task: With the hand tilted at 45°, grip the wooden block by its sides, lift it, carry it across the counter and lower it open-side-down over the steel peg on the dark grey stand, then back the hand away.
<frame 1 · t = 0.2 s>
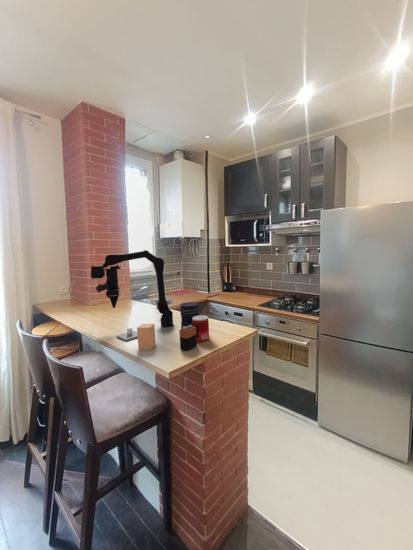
hand: (114, 306, 141), 15 cm above the table, tool pointing down, fingers open, 9 cm apart
canned food: (201, 340, 125), on the table
peg stand: (130, 336, 134), on the table
battery: (188, 348, 115), on the table
storage jar: (190, 332, 138), on the table
wooden block: (147, 347, 118), on the table
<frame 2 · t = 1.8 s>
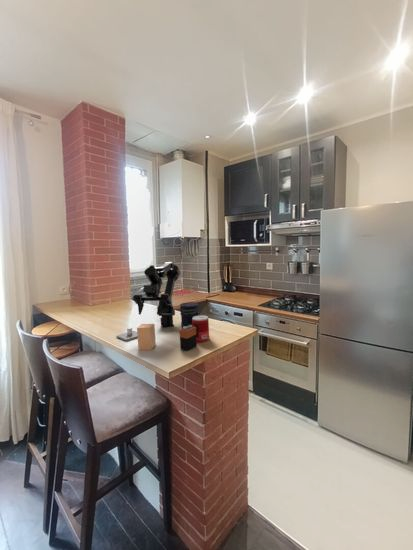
hand: (148, 314, 125), 13 cm above the table, tool tilted 45°, fingers open, 9 cm apart
nothing on the table moved.
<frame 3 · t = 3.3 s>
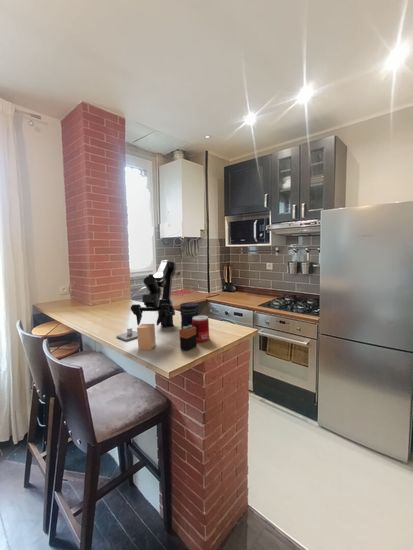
hand: (147, 325, 120), 10 cm above the table, tool tilted 45°, fingers open, 9 cm apart
nothing on the table moved.
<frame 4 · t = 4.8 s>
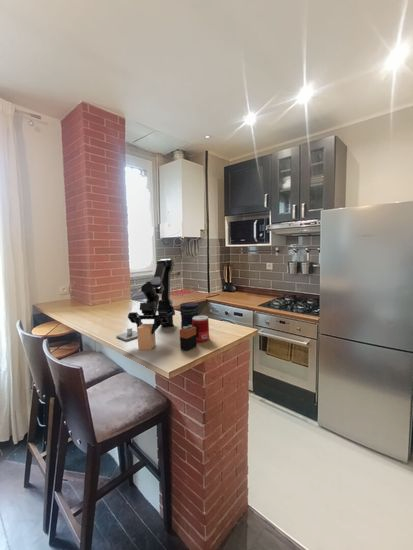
hand: (145, 334, 116), 7 cm above the table, tool tilted 45°, fingers closed on wooden block, 6 cm apart
wooden block: (147, 347, 118), on the table, touching gripper
everything else where it was.
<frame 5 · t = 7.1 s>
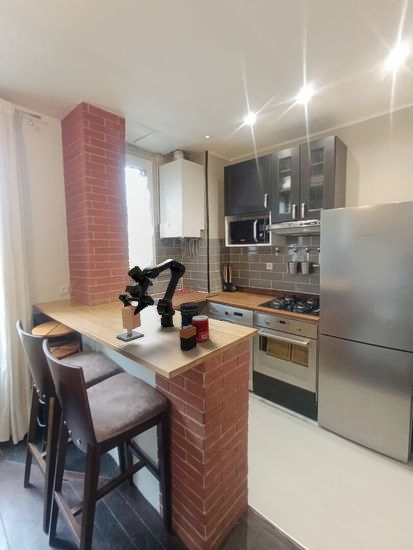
hand: (129, 314, 124), 14 cm above the table, tool tilted 45°, fingers closed on wooden block, 6 cm apart
wooden block: (132, 327, 126), point 7 cm above the table, touching gripper
everything else where it was.
when the fingers open (8 cm above the table, at t = 9.6 s): wooden block stays where it is, resting on peg stand.
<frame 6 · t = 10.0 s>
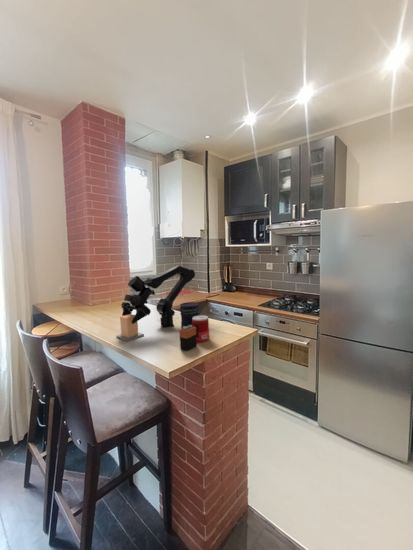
hand: (126, 322, 132), 8 cm above the table, tool tilted 45°, fingers open, 9 cm apart
wooden block: (129, 334, 134), point 1 cm above the table, touching peg stand
everything else where it was.
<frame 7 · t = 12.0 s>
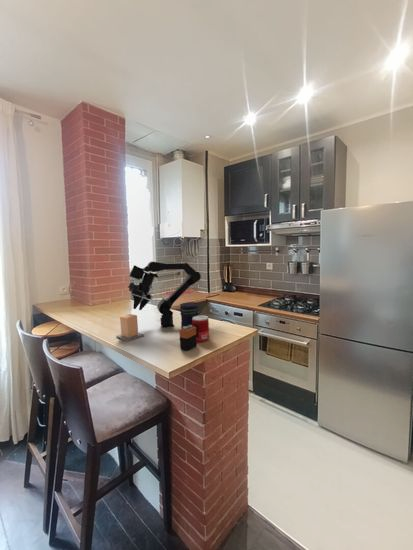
hand: (137, 309, 142), 12 cm above the table, tool tilted 25°, fingers open, 9 cm apart
nothing on the table moved.
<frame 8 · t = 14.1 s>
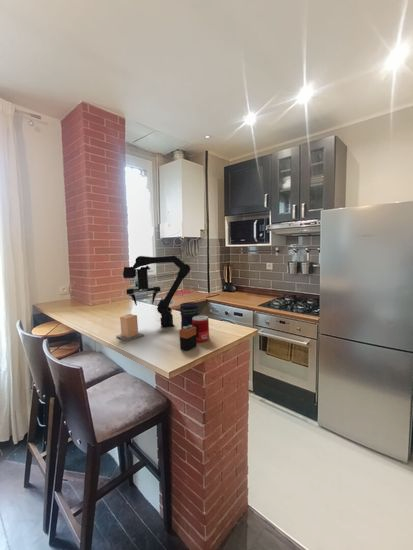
hand: (144, 304, 149), 13 cm above the table, tool pointing down, fingers open, 9 cm apart
nothing on the table moved.
at the end: wooden block 0.0 cm from the peg stand (horizontally); wooden block point 1.0 cm above the table; the gripper is holding nothing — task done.
